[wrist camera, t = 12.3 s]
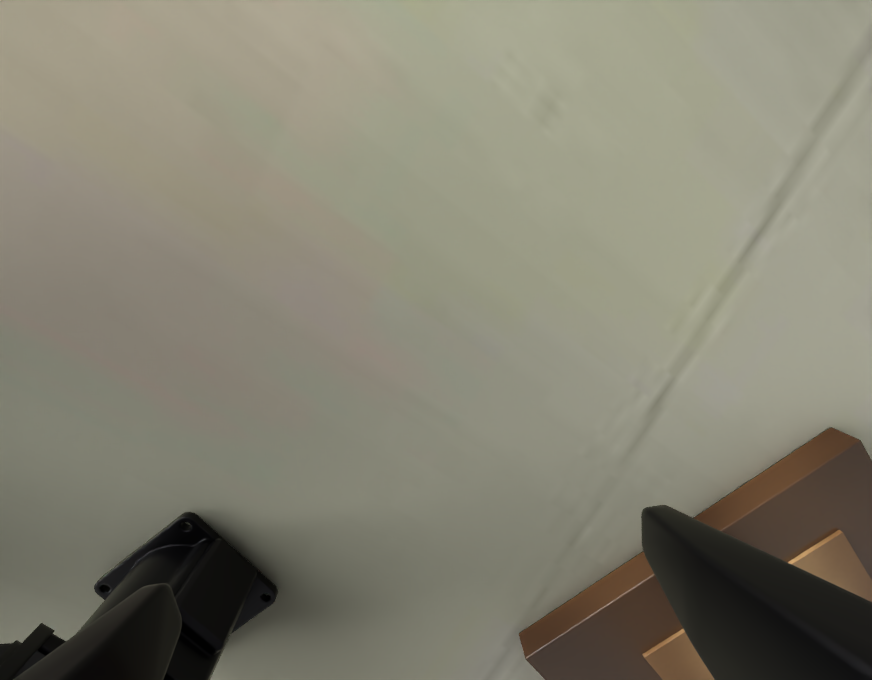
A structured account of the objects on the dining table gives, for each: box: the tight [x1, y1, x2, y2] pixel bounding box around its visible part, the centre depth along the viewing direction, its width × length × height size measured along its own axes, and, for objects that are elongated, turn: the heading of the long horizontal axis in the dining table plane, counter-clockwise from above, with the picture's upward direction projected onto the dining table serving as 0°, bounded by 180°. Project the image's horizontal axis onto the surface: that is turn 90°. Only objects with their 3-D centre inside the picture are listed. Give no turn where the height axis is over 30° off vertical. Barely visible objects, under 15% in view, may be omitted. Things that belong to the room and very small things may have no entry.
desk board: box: [519, 427, 872, 680], centre depth 23 cm, size 20×16×2 cm
